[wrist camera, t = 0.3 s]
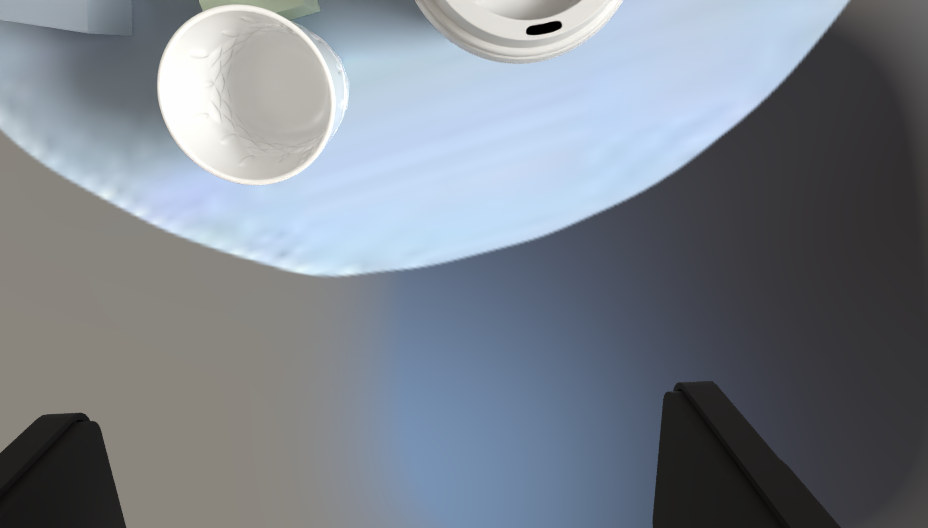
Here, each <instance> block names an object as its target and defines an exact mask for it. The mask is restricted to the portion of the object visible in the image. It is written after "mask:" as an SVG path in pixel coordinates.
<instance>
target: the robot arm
mask: <svg viewBox="0 0 928 528" xmlns="http://www.w3.org/2000/svg"><path fill="white" fill-rule="evenodd" d="M0 528H126V525H125V522H124V518H123V513H122V510H121V506H120V502H119V498H118V494H117V491H116V486H115V483H114V479H113V475H112V471H111V467H110V464H109V460H108V456H107V452H106V448H105V444H104V441H103V436H102V433H101V429H100V427H99V425H98V424H97V423H96V422H94V421H90V420H89V418H88V417H87V416H86V415H85V414H83V413H67V414H47V415H42V416H41V417H39V418H38V419H37V420H35V421H34V422H33V423H32V424H31V425H30V426H29V427H28V428H27V429H26V430H25V431H24V432H23V433H21V434H20V435H19V436H18V437H17V438H16V439H15V440H14V441H13V442H12V443H11V444H10V445H9V446H7V447H6V448H5V449H4V450H3V451H2V452H1V453H0ZM653 528H840V526H839V525H838V524H837V523H836V522H835V520H834V519H833V518H832V517H831V516H830V515H829V513H828V512H827V511H826V510H825V509H824V508H823V506H822V505H821V504H820V503H819V502H818V501H817V499H816V498H815V497H814V496H813V495H812V494H811V492H810V491H809V490H808V489H807V488H806V486H805V485H804V484H803V483H802V482H801V481H800V479H799V478H798V477H797V476H796V475H795V474H794V473H793V471H792V470H791V469H790V468H789V467H788V466H787V465H786V464H785V463H784V462H783V461H782V460H780V459H779V458H778V457H777V455H776V454H775V453H774V452H773V451H772V450H771V448H770V447H769V446H768V445H767V444H766V442H765V441H764V440H763V439H762V438H761V437H760V435H759V434H758V433H757V432H756V431H755V429H754V428H753V427H752V426H751V425H750V424H749V422H748V421H747V420H746V419H745V418H744V417H743V415H742V414H741V413H740V412H739V411H738V410H737V408H736V407H735V406H734V405H733V404H732V403H731V401H730V400H729V399H728V398H727V397H726V395H725V394H724V393H723V392H722V391H721V390H720V389H719V387H718V386H717V385H716V384H715V383H714V382H713V381H699V382H679V383H677V384H676V385H675V387H674V390H673V392H666V393H665V395H664V399H663V409H662V420H661V431H660V443H659V454H658V465H657V477H656V488H655V499H654V510H653Z"/></svg>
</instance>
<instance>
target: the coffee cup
mask: <svg viewBox="0 0 928 528" xmlns="http://www.w3.org/2000/svg"><path fill="white" fill-rule="evenodd" d="M415 2H416V3H417V5H418V7H419V8H420V10H421V11H422V13H423V14H424V15H425V17H426V18H427V19H428V20H429V22H430V23H431V24H432V25H433V26H434V27H435V28H436V29H437V30H438V31H439V32H440V33H441V34H442V35H443V36H445V37H446V38H447V39H448V40H450V41H451V42H452V43H454V44H455V45H457V46H458V47H460V48H462V49H464V50H465V51H467V52H469V53H471V54H474V55H476V56H479V57H481V58H484V59H488V60H492V61H496V62H502V63H512V64H524V63H534V62H540V61H544V60H548V59H551V58H555V57H557V56H560V55H562V54H565V53H567V52H569V51H571V50H573V49H574V48H576V47H578V46H580V45H581V44H583V43H584V42H585V41H587V40H588V39H590V38H591V37H592V36H593V35H594V34H596V33H597V32H598V31H599V30H600V29H601V28H602V27H603V26H604V25H605V24H606V23H607V22H608V21H609V20H610V18H611V17H612V16H613V15H614V13H615V12H616V11H617V9H618V8H619V6H620V5H621V3H622V2H623V0H415Z"/></svg>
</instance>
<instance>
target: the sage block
mask: <svg viewBox="0 0 928 528" xmlns="http://www.w3.org/2000/svg"><path fill="white" fill-rule="evenodd" d="M199 3H200V5H201V8H202V10H203V11H205V10H208V9H211V8H214V7H218V6H223V5H233V4H240V5H250V6H256V7H260V8H263V9H267V10H269V11H272V12H274V13H276V14H278V15H280V16H283V17H285V18H287V19H289V20H293V19H296V18H299V17H303V16H306V15H309V14H313V13H316V12H319V11H321V10H320V7H319V4H318V1H317V0H199Z"/></svg>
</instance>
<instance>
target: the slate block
mask: <svg viewBox="0 0 928 528" xmlns="http://www.w3.org/2000/svg"><path fill="white" fill-rule="evenodd" d="M0 20H5V21H11V22H18V23H24V24H31V25H37V26H44V27H50V28H57V29H63V30H70V31H76V32H83V33H91V34H106V35H122V36H133V27H132V0H0Z"/></svg>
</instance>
